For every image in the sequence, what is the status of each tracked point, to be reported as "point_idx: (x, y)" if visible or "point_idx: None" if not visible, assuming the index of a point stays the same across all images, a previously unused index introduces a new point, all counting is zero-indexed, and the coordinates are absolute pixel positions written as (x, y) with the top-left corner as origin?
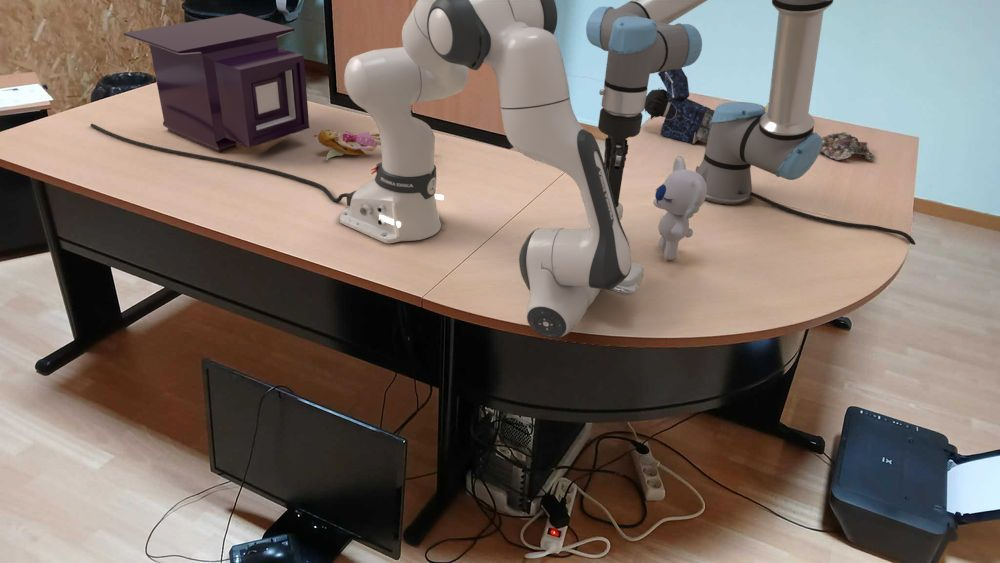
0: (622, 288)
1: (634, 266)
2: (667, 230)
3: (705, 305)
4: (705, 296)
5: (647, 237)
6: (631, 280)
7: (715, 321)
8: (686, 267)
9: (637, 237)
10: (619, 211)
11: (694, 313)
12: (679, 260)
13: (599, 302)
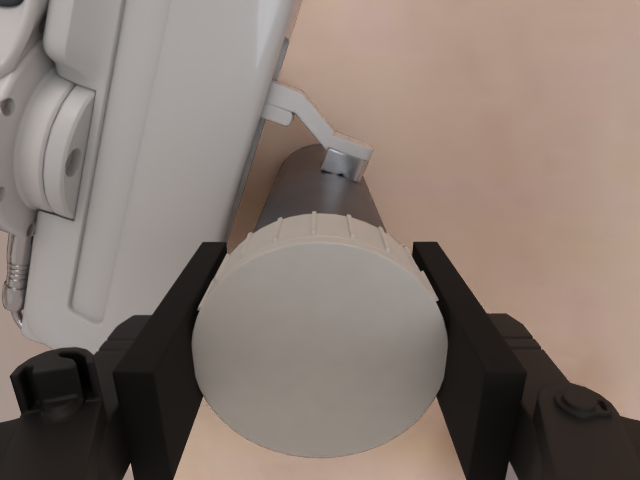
0: (12, 301)
1: None
2: (510, 472)
3: (246, 458)
4: (290, 463)
5: (617, 359)
6: (42, 341)
7: (179, 469)
8: (434, 439)
9: (619, 331)
10: (242, 435)
11: (200, 432)
12: None
13: None
